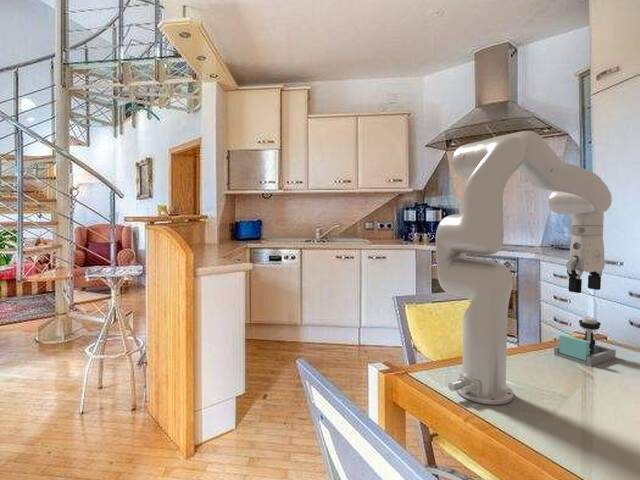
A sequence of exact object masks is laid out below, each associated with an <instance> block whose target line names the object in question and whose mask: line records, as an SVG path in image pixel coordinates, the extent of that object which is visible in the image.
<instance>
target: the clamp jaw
mask: <svg viewBox="0 0 640 480" xmlns="http://www.w3.org/2000/svg"><path fill="white" fill-rule="evenodd" d="M558 338H559V340H558V346H559V353H563V354H566V355H569V356H572V357H576V358H579V359H582V360H585V361H586V360H587V357H588V356H589V341H585V340H583V338H582V339H580V338H577V337H575V336H569V335H566V334H559V337H558Z"/></svg>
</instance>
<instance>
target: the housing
mask: <svg viewBox="0 0 640 480" xmlns="http://www.w3.org/2000/svg"><path fill="white" fill-rule="evenodd" d="M594 347H595V353H594V351H592V354H589V356H588V357H587V360H586V361H585V360H582V359H579V358H576V357H572V356H569V355H566V354H563V353H559V345H558V346H554V347H553V351H554V352H553V355H554V356H557V357H561V358H563V359H567V360H569V361H572V362H576V363H578V364H582V365H585V366H589V367H592V366H595V365H598V364H601V363H604V362H607V361H609V360H612V358H613V359H615V358H616V352H617V349H615V348H614V349H613V348H610V347H606V346H602V345H598V344H596V343H595V344H594Z"/></svg>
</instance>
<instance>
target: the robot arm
mask: <svg viewBox="0 0 640 480" xmlns="http://www.w3.org/2000/svg"><path fill="white" fill-rule="evenodd" d="M451 166H452V168H453V171H454V173H455V174H456V175H457V176H459V177H460V178H462V179H467V181H466V182H465V185H464V188H463V192H462V213H460V214H459V213H458V214H457V213H456V214H450V215H447V216H445V217H443V218H442V219H441V221H440V222H439V224H438V225H437V229H436V232H435V257H436V271H437V279H438V283H439V286H440V288H441V289H442V290H443V291H444V292H446V293H448V294H450V295H453V296H459V297H462V298H467V299H470V300H471V302H470V304H469V305H468V306H467V308H466V309H465V312H464V314H463V318H462V369H461V370H462V372H461V373H459V378H458V379H457V380H456V381H452V382H449V383H448V385H447V386H448V389H449V391H451V392H456V393H458V395H460V396H461V397H463V398H465V399H466V400H469V401H472V402H475V403H478V404H483V405H491V406H492V405H493V406H494V405H495V406H496V405H497V406H498V405H504V404H507V403H510V402H511V401H512V400H513V398H514V391H513V389H511V387H510V386H508V385H507V353H508V352H507V346H508V345H507V337H508V311H509V304H510V299H511V293H512V291H513V285H514V279H513V278H514V277H513V273H512V272H511V271H510V269H509V268H508V267H507V266H506V265H505V264H503V263H500V262H497V261H492V260H487V259H478V258H477V259H476V258H467V254H468V255H477V256H478V255H479V256H491V255H495V254H497V253H499V252H500V251H501V249H503V244H504V236H505V235H504V233H505V232H504V231H505V229H504V207H503V206H504V203H503V202H504V200H503V198H504V191H505V188H506V185H507V183H508V182H509V179H510V178H511V177H512V176H513V174H514V173H515V172H516V171H517V170H518V171H519V172H521V174H523V176H524V177H526V178H527V180H528V181H529V182H530V183H531V184H532V185H533V186H535V187H536V188H539V189H543V190H547V191H552V192H551V194H550V195H549V196H548V202H547V204H548V207H549V209H550V210H551V211H552V212H553V213H555V214H558V215H571V229H570V230H571V232H570V235H571V237H570V238H571V241H570V247H569V257H568V261H567V262H566V263H565V267H566V273H567V278H568V292H571V293H575V294H576V293H577V294H580V293H582V286H583V285H582V284H583V279H582V278H581V277H582V275H583V273H584V272H585V273H588V275H587V288H588V289H590V290H597V291H599V290H601V283H602V275H603V270H604V269H605V245H604V219H605V218H604V217H605V216H604V215H605V212H607V211H608V210H609V209H610V208H611V205H612V201H613V198H612V193H611V190H610V189H609V187H608V186H607V184H606V183H605V181H603V180H602V178H601V177H600V176H599V174H596V173H594V172H593V171H591V170H588V169H586V168H584V167H580V166H578V165H574V164H572V163H570V162H569V163H568V162H565V161H563V160H562V159H561V158H560V156H559V155H558V154H557V153H556V152H555V151H554V150H553V149H552V147H551V146H550V145H549V143H547V142H546V141H545V140H544V138H543V137H542V136H541V135H540V134H538V133H537V132H535V131H532V130H524V131H523V130H522V131H517V132H514V133H508V134H503V135H498V136H493V137H492V138H491V137H490V138H487V139H484V140H480V141H475V142H471V143H467V144H463V145H461V146H458V148H456V150H455V151H454V153H453V155H452V158H451Z"/></svg>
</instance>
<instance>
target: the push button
mask: <svg viewBox="0 0 640 480" xmlns="http://www.w3.org/2000/svg"><path fill="white" fill-rule="evenodd" d="M578 323H579V326H580V328H582V329H583V330H585V331H584V332H585V333H584V334H585V335H584V338H582V340H585V341H589V354H592V351H594V353H595V347H594V344H596V339H594V332H593V331H598V330H599V329H600V328H601V325H602V324H601V322H599V321H598V319H597V318H594V317H588V316H586V317H582V319H579V320H578Z"/></svg>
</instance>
